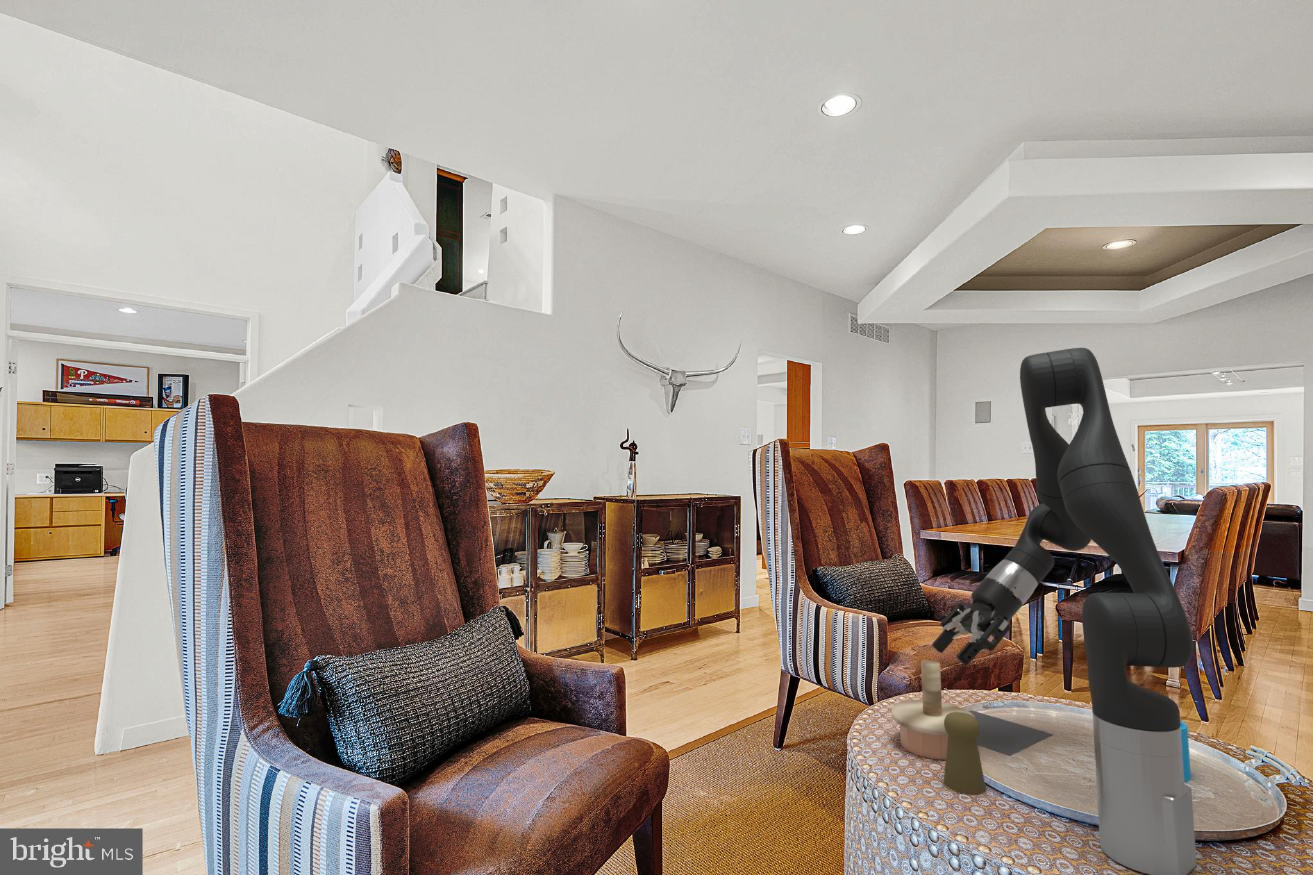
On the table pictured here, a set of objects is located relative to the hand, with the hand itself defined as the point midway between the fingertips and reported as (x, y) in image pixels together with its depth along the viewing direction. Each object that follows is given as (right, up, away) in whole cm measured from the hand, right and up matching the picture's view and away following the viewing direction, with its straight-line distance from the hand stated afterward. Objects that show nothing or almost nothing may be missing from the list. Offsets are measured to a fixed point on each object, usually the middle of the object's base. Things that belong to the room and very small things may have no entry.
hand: (948, 655), depth 118 cm
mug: (+28, -16, -10) cm, 34 cm away
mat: (+10, -17, +5) cm, 20 cm away
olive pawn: (-4, -16, -15) cm, 22 cm away
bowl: (-3, -16, -1) cm, 17 cm away
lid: (-3, -11, -1) cm, 12 cm away
